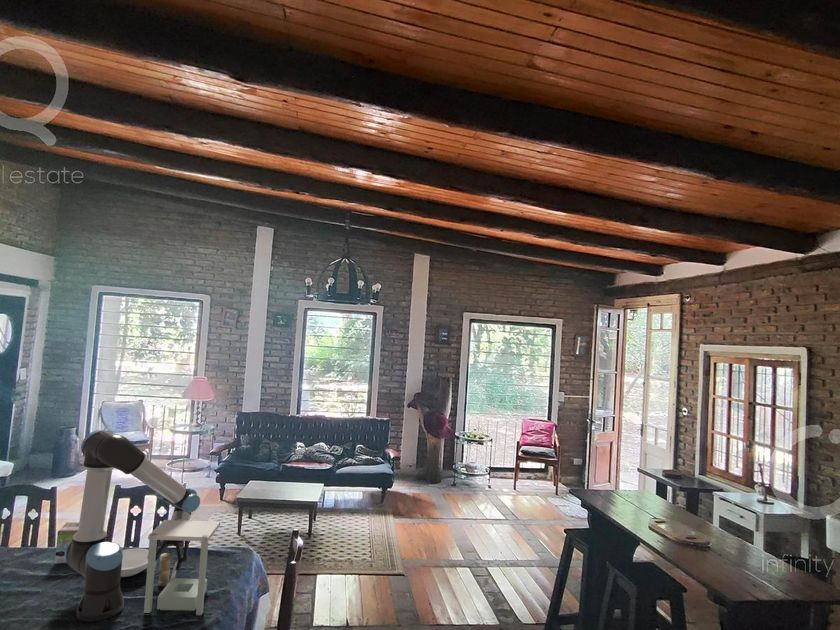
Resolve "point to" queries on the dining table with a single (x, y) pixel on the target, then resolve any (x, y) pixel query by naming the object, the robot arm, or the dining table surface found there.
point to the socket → (180, 589)
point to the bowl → (134, 561)
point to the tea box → (65, 540)
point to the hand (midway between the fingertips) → (161, 578)
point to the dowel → (164, 569)
